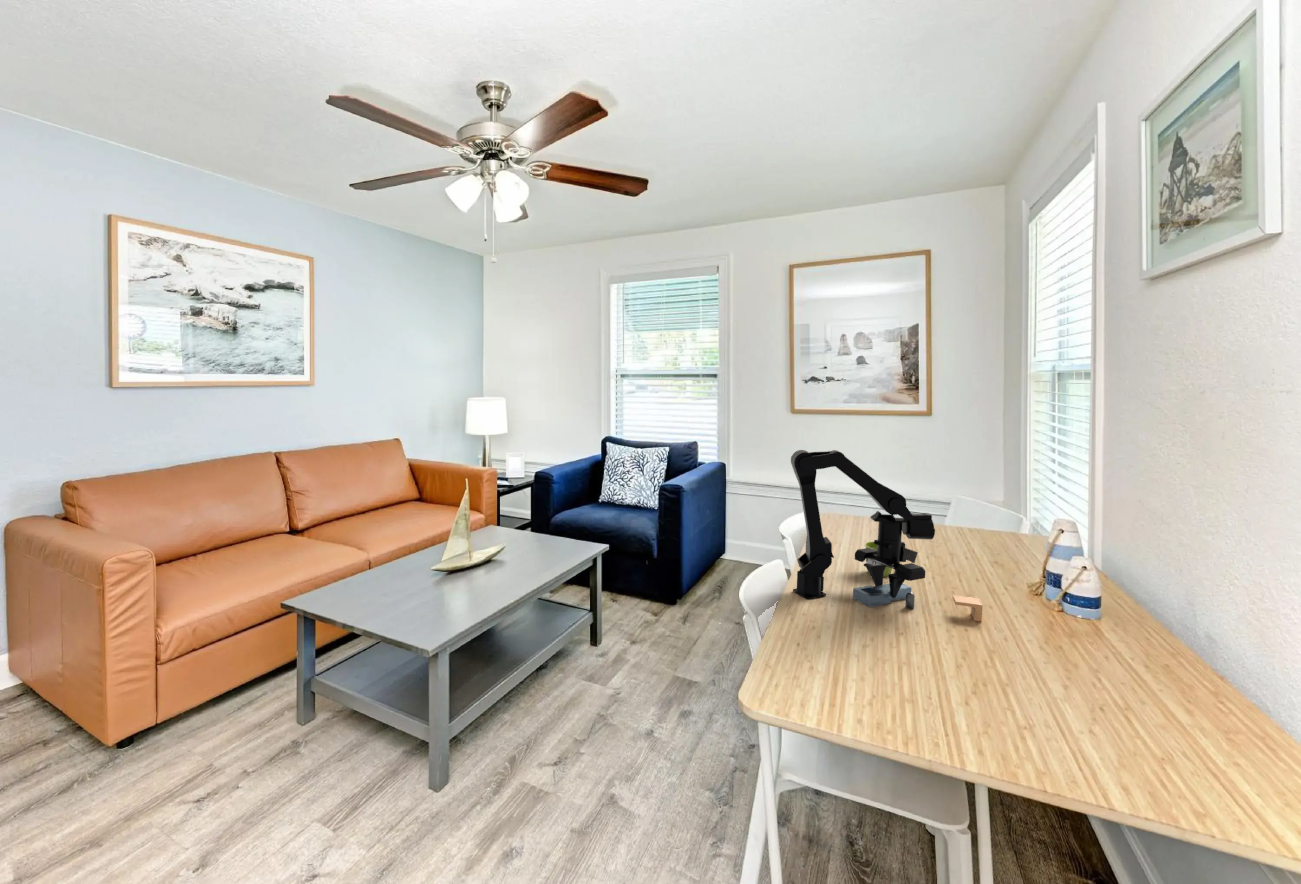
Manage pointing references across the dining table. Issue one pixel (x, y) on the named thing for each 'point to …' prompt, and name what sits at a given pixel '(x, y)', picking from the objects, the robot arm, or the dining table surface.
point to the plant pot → (874, 546)
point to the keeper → (970, 605)
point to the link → (878, 594)
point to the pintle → (909, 600)
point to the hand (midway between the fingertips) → (886, 594)
